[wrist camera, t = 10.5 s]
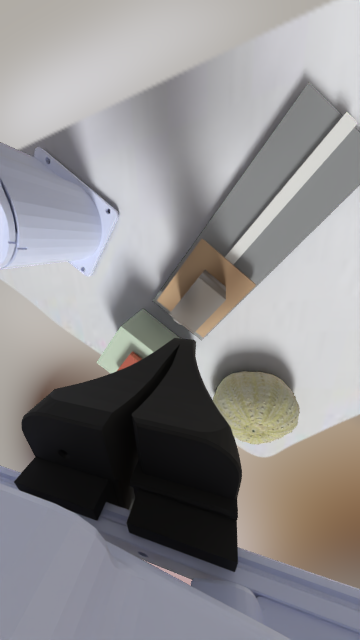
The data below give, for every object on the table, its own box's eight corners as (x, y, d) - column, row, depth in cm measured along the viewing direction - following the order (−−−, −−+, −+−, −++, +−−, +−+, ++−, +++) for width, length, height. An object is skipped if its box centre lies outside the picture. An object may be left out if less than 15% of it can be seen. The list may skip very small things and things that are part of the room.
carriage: (160, 297, 19) (139, 314, 14) (203, 238, 16) (193, 237, 11) (204, 333, 19) (197, 360, 15) (254, 282, 16) (265, 298, 12)
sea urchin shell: (317, 427, 20) (277, 490, 17) (258, 398, 27) (222, 439, 24) (291, 363, 18) (239, 423, 15) (234, 349, 25) (192, 388, 22)
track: (155, 299, 20) (151, 302, 19) (304, 91, 12) (311, 76, 11) (202, 337, 21) (200, 342, 20) (377, 163, 12) (391, 156, 11)
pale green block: (120, 340, 24) (96, 362, 20) (142, 308, 21) (120, 326, 17) (167, 376, 25) (154, 406, 20) (194, 349, 22) (186, 377, 17)
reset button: (124, 361, 20) (114, 374, 18) (139, 342, 19) (129, 354, 17) (148, 379, 21) (140, 394, 19) (165, 362, 19) (158, 376, 17)
